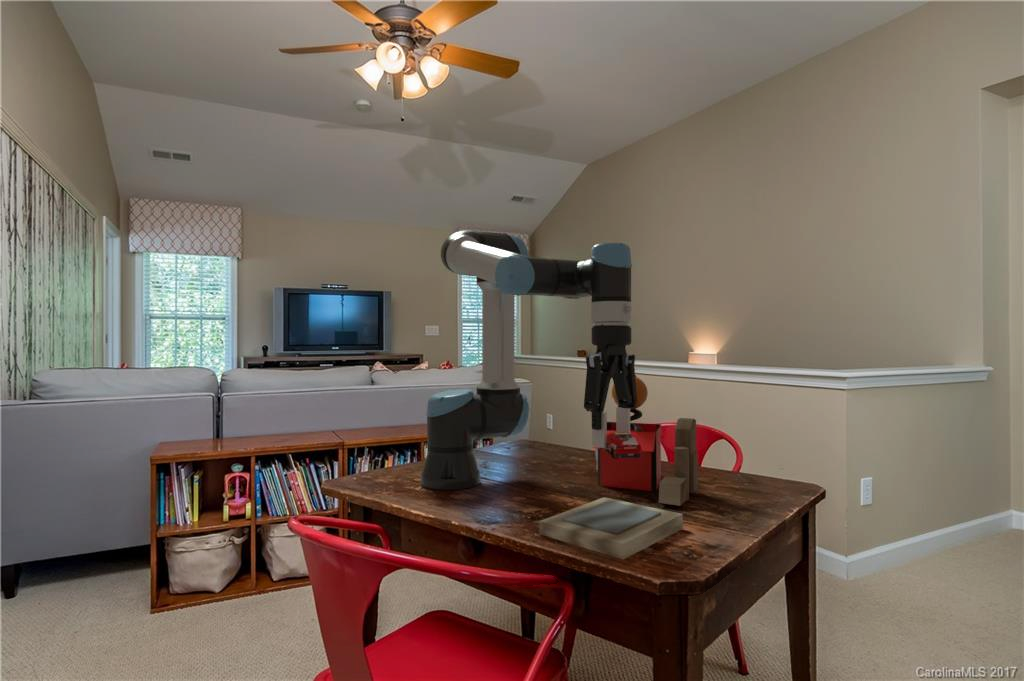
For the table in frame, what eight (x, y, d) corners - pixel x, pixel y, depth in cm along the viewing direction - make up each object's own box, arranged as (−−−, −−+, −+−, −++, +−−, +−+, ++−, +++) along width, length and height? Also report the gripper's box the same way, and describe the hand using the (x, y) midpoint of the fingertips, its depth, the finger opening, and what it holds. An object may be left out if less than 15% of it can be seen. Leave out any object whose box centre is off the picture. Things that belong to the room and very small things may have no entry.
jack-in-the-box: (607, 469, 163) (606, 365, 163) (663, 473, 157) (662, 365, 157) (588, 491, 138) (588, 369, 138) (653, 497, 133) (653, 370, 133)
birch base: (539, 537, 106) (539, 519, 106) (604, 511, 122) (604, 495, 122) (622, 561, 94) (622, 541, 94) (682, 529, 110) (682, 511, 110)
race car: (596, 446, 112) (596, 426, 112) (623, 445, 112) (623, 425, 112) (615, 462, 99) (614, 439, 98) (645, 461, 99) (645, 438, 99)
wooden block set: (675, 489, 140) (675, 417, 140) (698, 493, 137) (698, 418, 137) (654, 507, 125) (654, 425, 126) (680, 510, 123) (680, 427, 123)
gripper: (597, 323, 98) (598, 454, 98) (655, 325, 113) (655, 439, 113) (563, 324, 103) (563, 449, 103) (622, 326, 118) (623, 435, 118)
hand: (611, 443), depth 108 cm, fingers closed on race car, 8 cm apart
